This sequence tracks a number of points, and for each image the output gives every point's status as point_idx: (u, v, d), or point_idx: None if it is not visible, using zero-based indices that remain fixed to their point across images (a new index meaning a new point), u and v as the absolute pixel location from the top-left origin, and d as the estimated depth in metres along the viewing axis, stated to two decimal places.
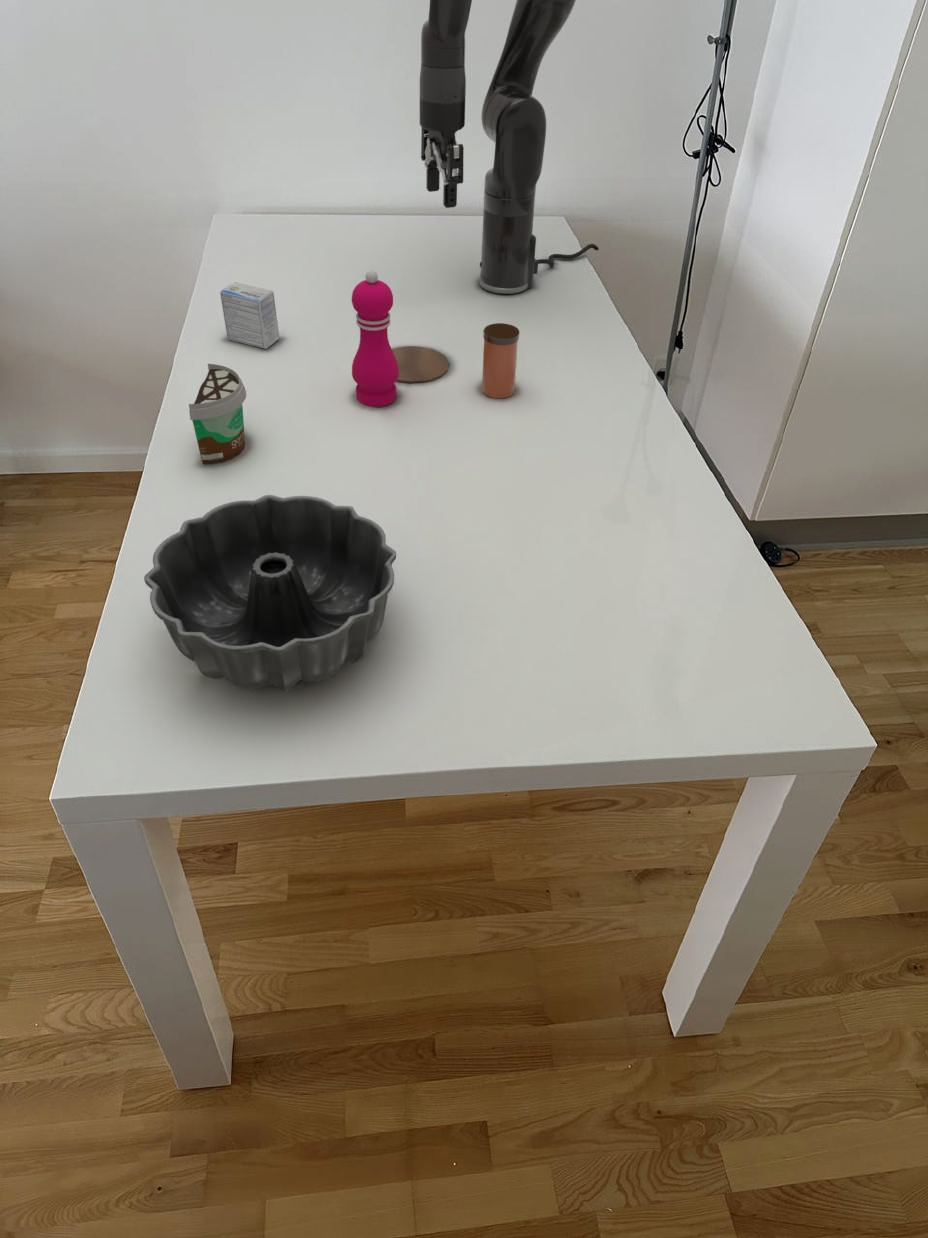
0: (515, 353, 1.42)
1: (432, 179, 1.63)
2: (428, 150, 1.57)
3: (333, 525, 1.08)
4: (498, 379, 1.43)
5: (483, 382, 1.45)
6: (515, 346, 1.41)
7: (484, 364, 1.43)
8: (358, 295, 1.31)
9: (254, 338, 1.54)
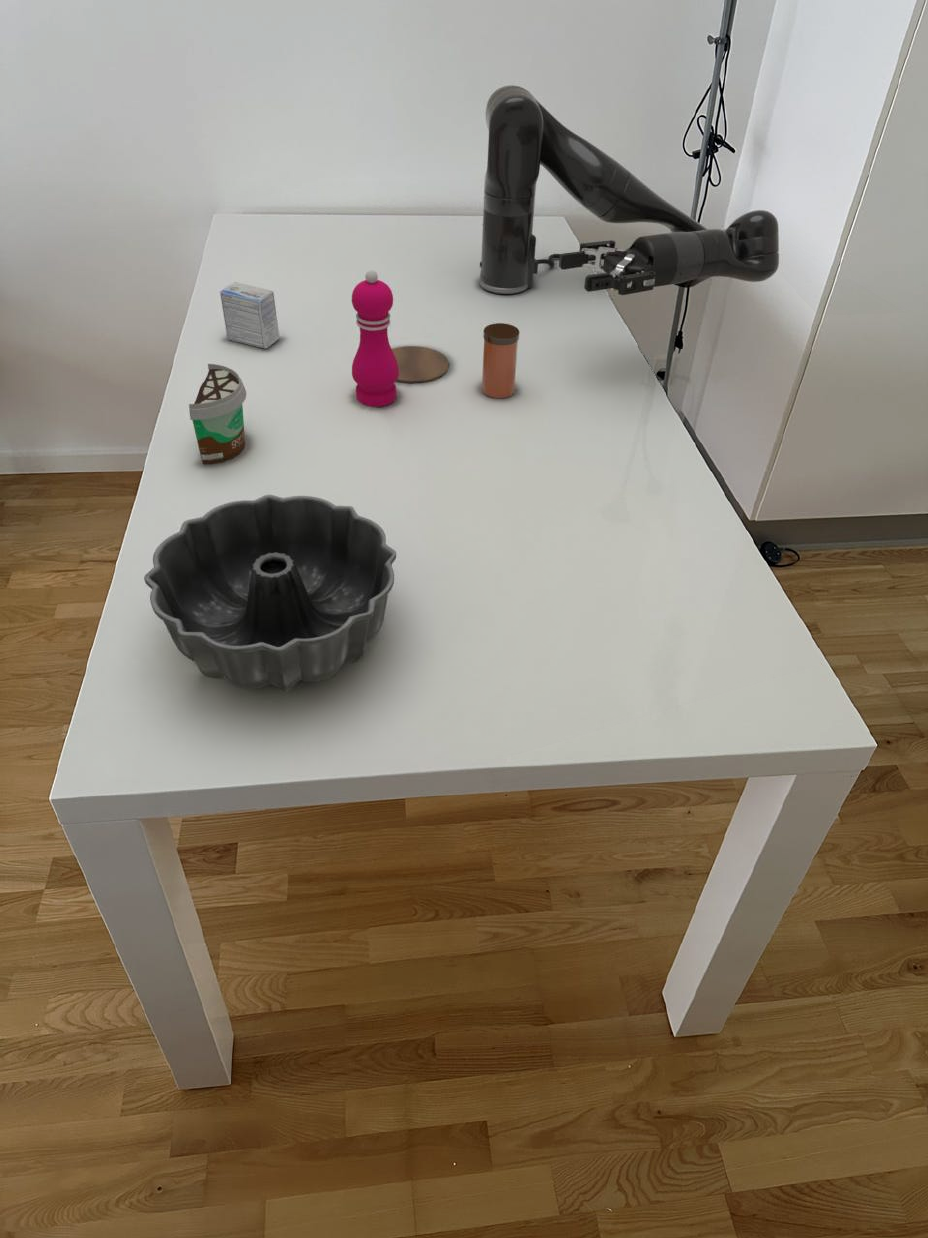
0: (515, 353, 1.42)
1: (573, 259, 1.41)
2: (611, 250, 1.41)
3: (333, 525, 1.08)
4: (498, 379, 1.43)
5: (483, 382, 1.45)
6: (515, 346, 1.41)
7: (484, 364, 1.43)
8: (358, 295, 1.31)
9: (254, 338, 1.54)
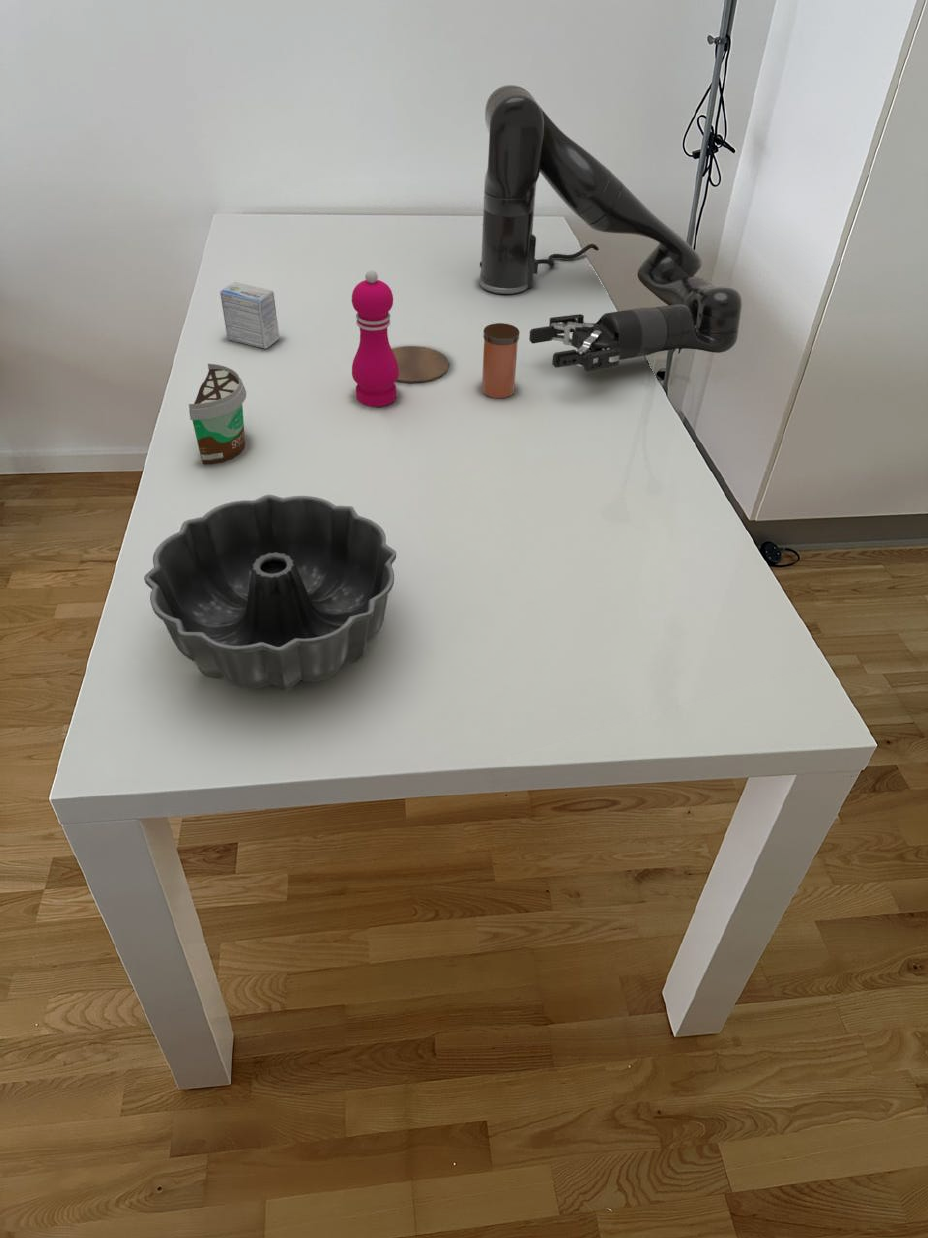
0: (515, 353, 1.42)
1: (542, 334, 1.48)
2: (579, 326, 1.47)
3: (333, 525, 1.08)
4: (498, 379, 1.43)
5: (483, 382, 1.45)
6: (515, 346, 1.41)
7: (484, 364, 1.43)
8: (358, 295, 1.31)
9: (254, 338, 1.54)
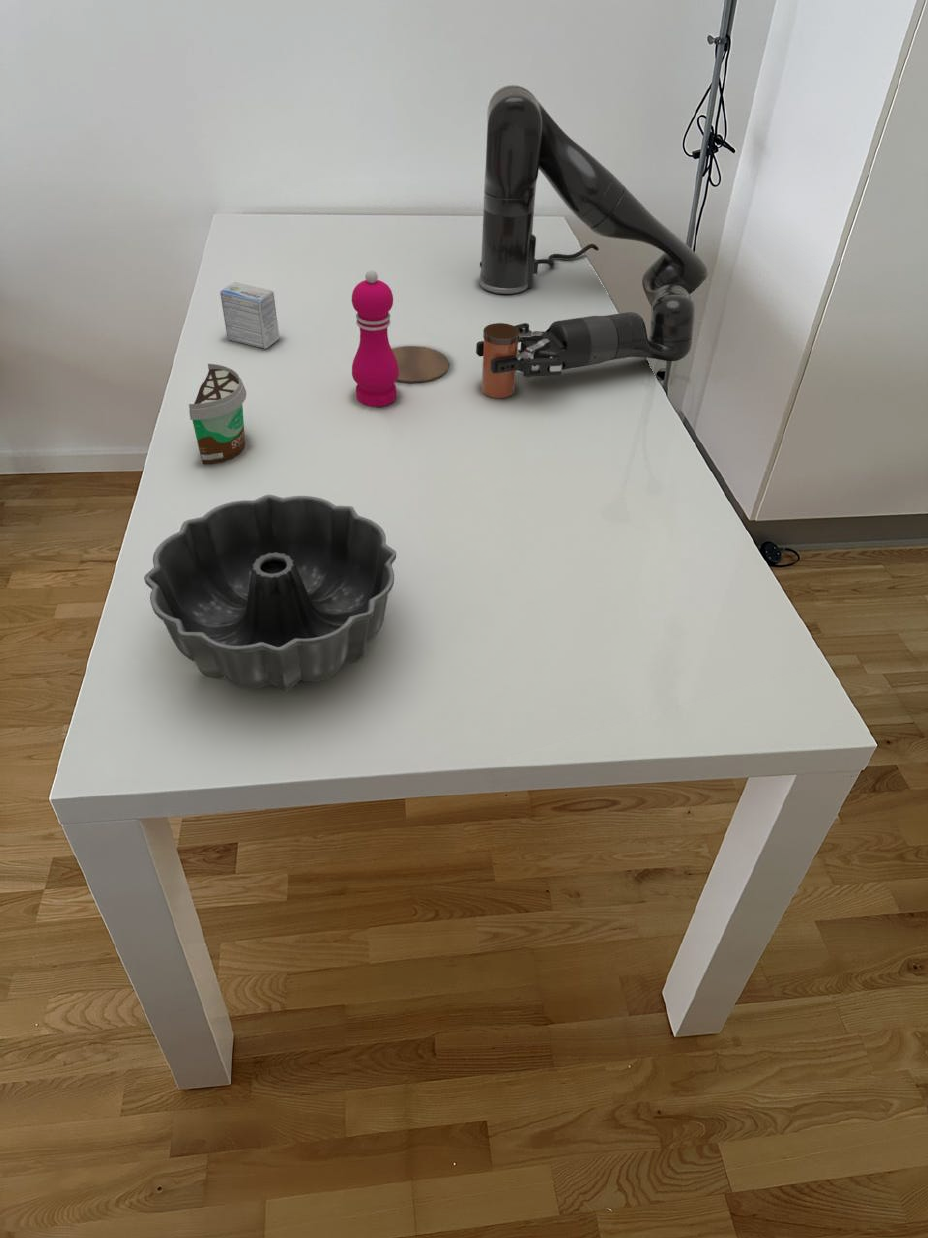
0: (515, 353, 1.42)
1: None
2: (528, 335, 1.44)
3: (333, 525, 1.08)
4: (498, 379, 1.43)
5: (483, 382, 1.45)
6: (515, 346, 1.41)
7: (484, 364, 1.43)
8: (358, 295, 1.31)
9: (254, 338, 1.54)
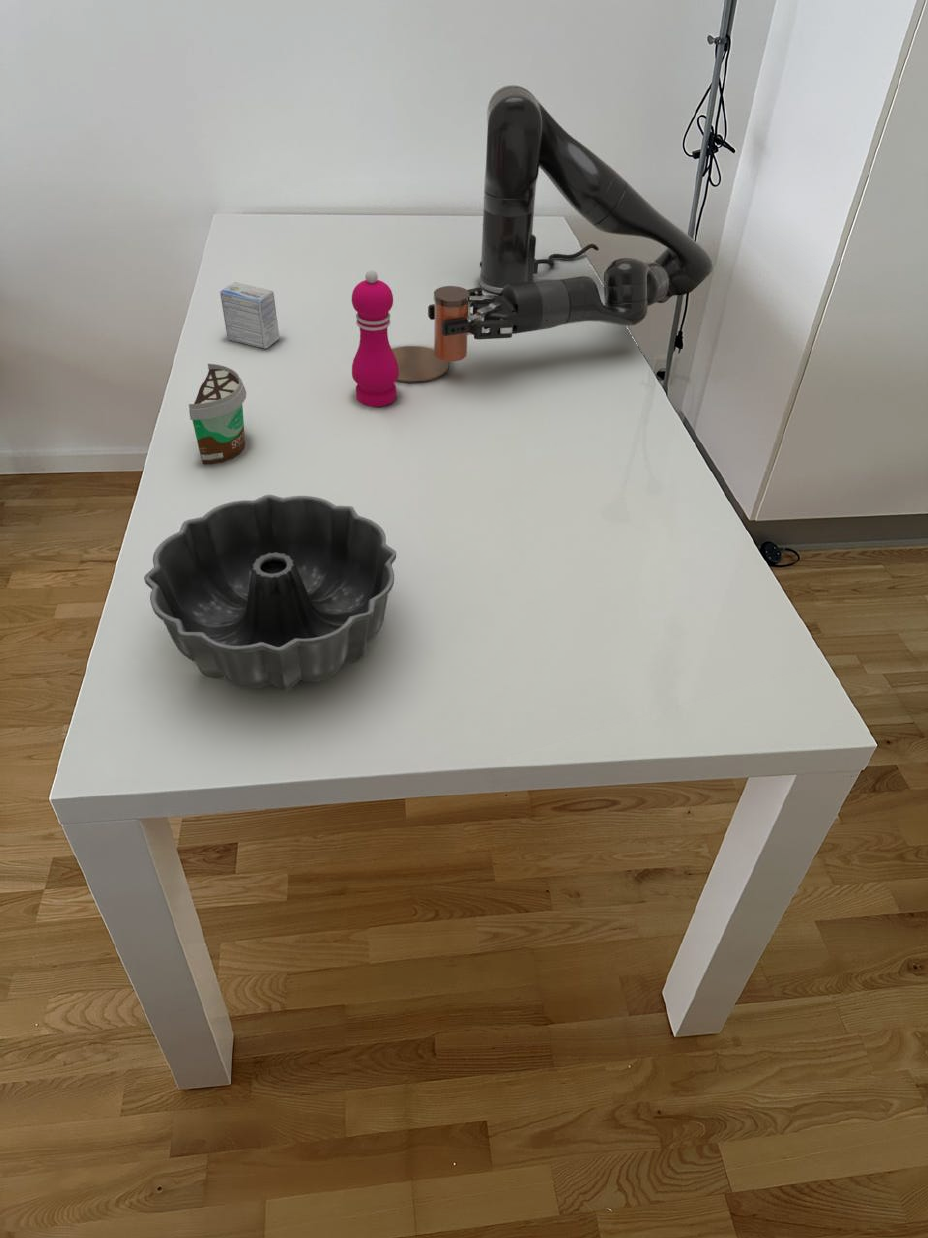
0: (466, 315, 1.42)
1: None
2: (479, 298, 1.45)
3: (333, 525, 1.08)
4: (449, 342, 1.43)
5: (435, 345, 1.45)
6: (465, 308, 1.41)
7: (435, 327, 1.43)
8: (358, 295, 1.31)
9: (254, 338, 1.54)
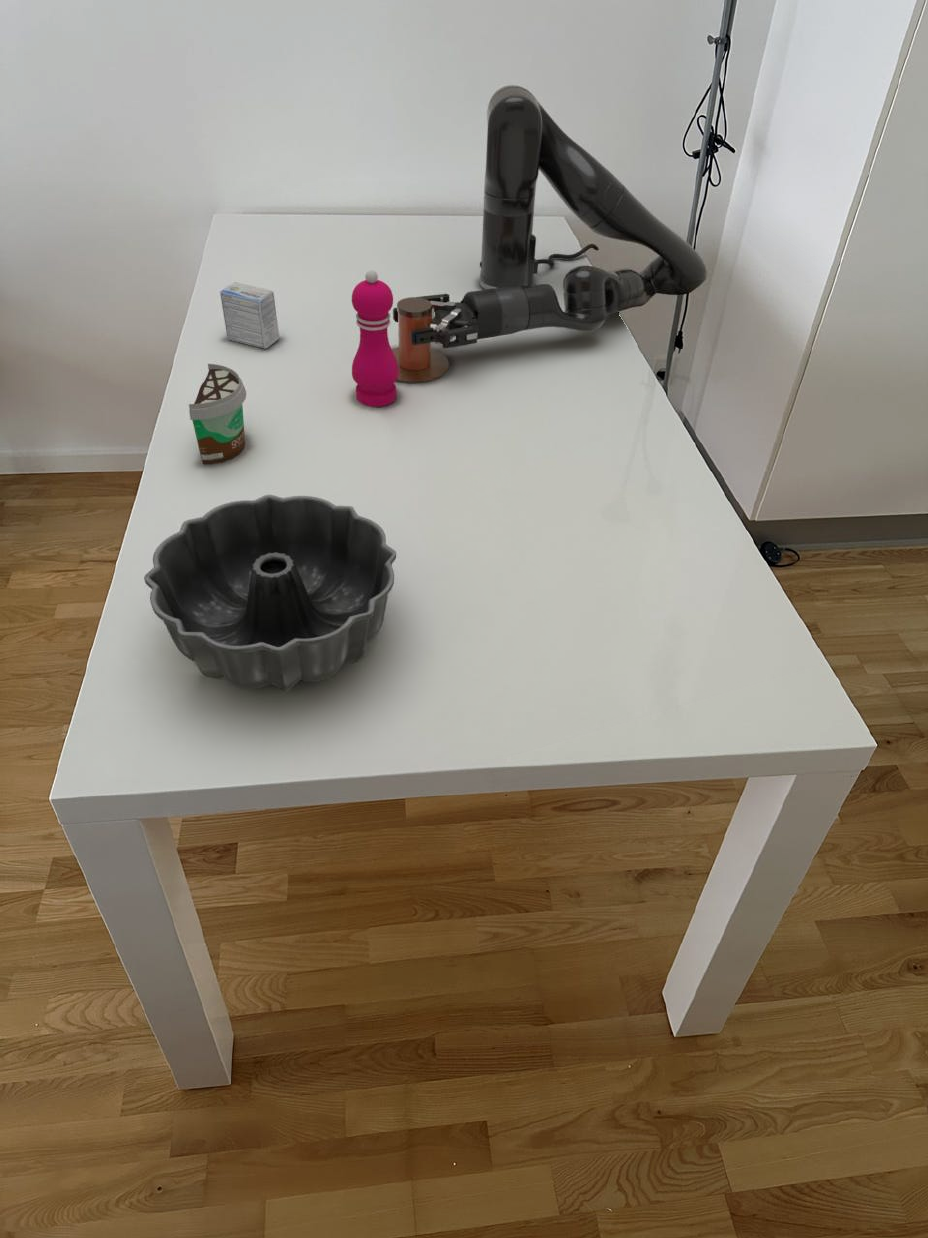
0: (428, 326, 1.47)
1: None
2: (441, 304, 1.49)
3: (333, 525, 1.08)
4: (412, 351, 1.48)
5: (399, 355, 1.50)
6: (428, 319, 1.46)
7: (399, 337, 1.48)
8: (358, 295, 1.31)
9: (254, 338, 1.54)
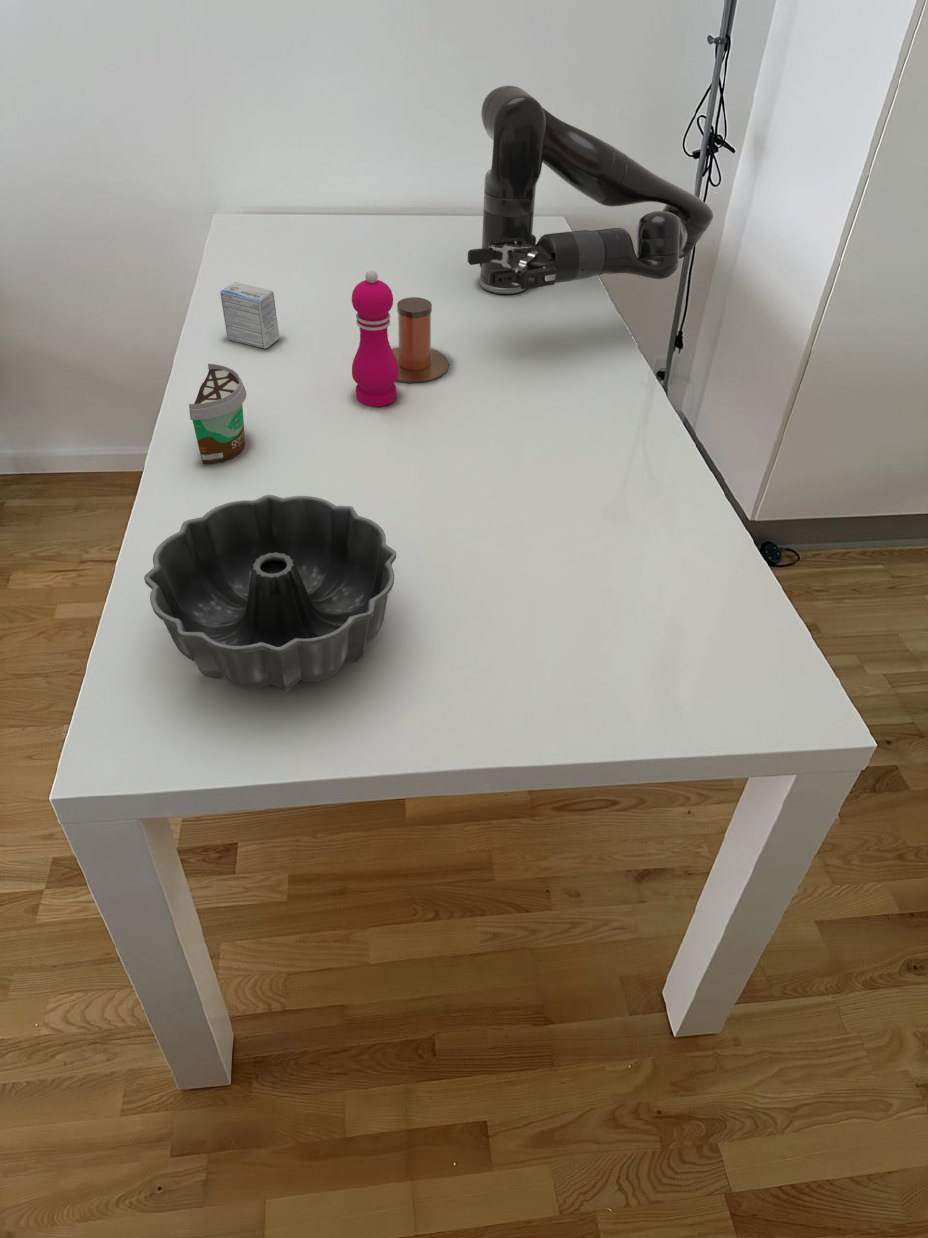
0: (428, 326, 1.47)
1: (480, 255, 1.48)
2: (516, 247, 1.48)
3: (333, 525, 1.08)
4: (412, 351, 1.48)
5: (399, 355, 1.50)
6: (428, 319, 1.46)
7: (399, 337, 1.48)
8: (358, 295, 1.31)
9: (254, 338, 1.54)
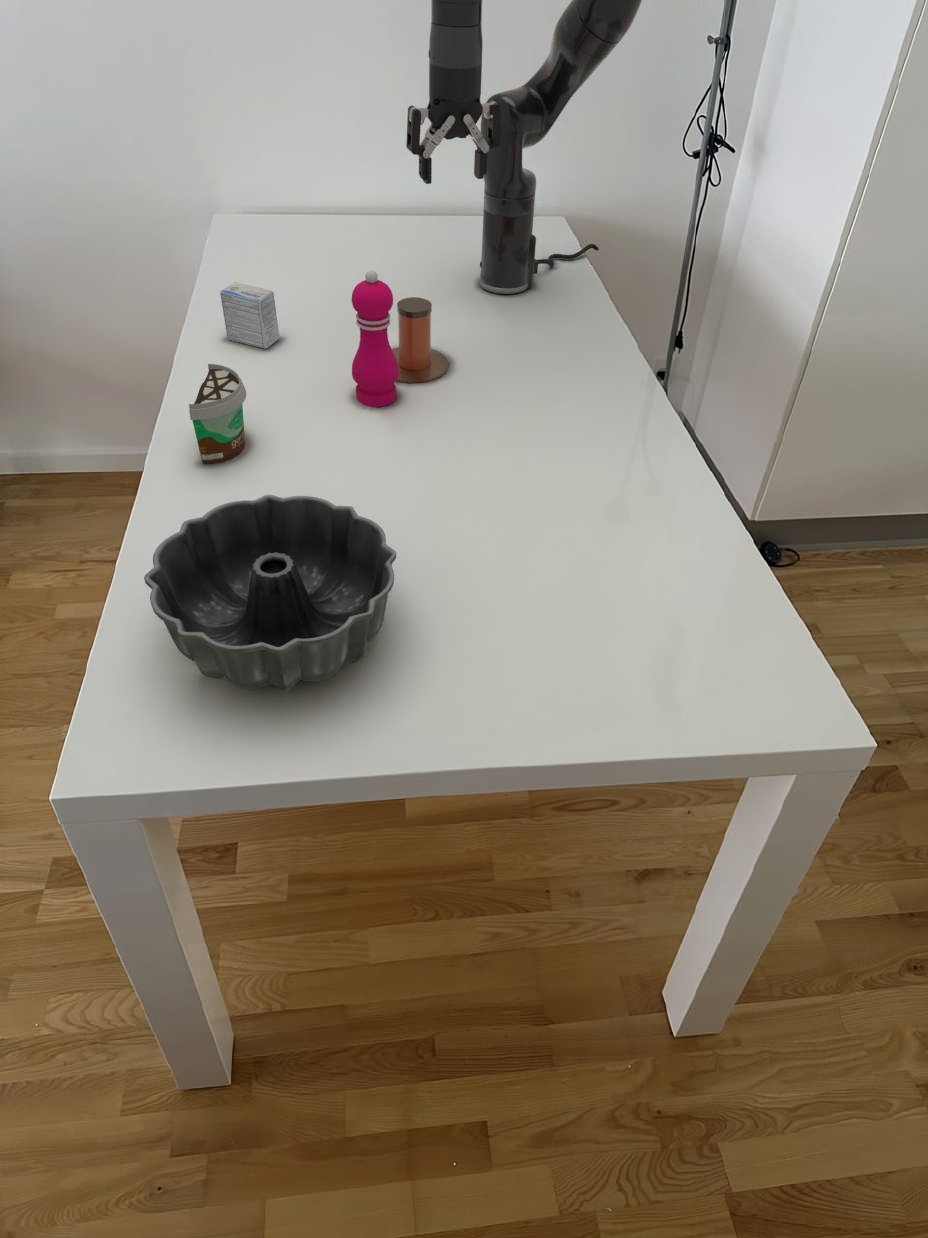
0: (428, 326, 1.47)
1: (476, 163, 1.42)
2: None
3: (333, 525, 1.08)
4: (412, 351, 1.48)
5: (399, 355, 1.50)
6: (428, 319, 1.46)
7: (399, 337, 1.48)
8: (358, 295, 1.31)
9: (254, 338, 1.54)
